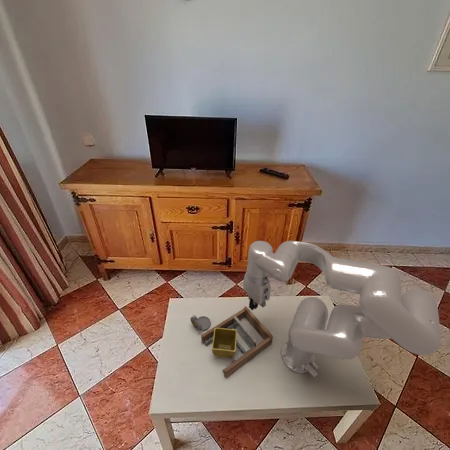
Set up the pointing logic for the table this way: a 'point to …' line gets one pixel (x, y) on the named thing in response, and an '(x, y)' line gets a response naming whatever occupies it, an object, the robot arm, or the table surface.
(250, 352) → the frame
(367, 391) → the table surface
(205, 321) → the pocket watch
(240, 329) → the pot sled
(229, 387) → the table surface
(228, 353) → the flower pot
